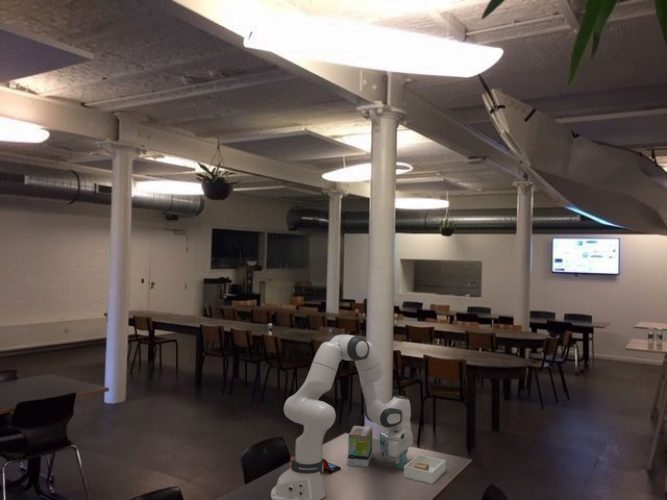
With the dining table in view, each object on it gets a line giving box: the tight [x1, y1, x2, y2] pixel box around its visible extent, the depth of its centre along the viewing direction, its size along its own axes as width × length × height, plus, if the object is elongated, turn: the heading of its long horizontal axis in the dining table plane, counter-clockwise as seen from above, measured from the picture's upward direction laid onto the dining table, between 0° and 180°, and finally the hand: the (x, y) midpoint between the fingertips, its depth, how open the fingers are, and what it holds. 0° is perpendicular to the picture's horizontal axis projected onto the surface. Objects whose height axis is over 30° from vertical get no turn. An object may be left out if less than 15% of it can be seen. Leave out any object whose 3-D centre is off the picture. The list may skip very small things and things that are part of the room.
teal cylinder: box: [395, 451, 408, 470], centre depth 243 cm, size 5×5×7 cm
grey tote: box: [403, 454, 447, 485], centre depth 235 cm, size 17×13×5 cm
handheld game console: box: [323, 458, 342, 474], centre depth 241 cm, size 12×11×7 cm
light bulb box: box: [379, 431, 396, 462], centre depth 256 cm, size 11×7×11 cm, turn 25°
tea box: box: [347, 425, 374, 468], centre depth 251 cm, size 15×10×15 cm, turn 168°
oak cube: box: [414, 462, 429, 471], centre depth 232 cm, size 5×5×5 cm
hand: (401, 460), depth 243 cm, fingers open, 6 cm apart
